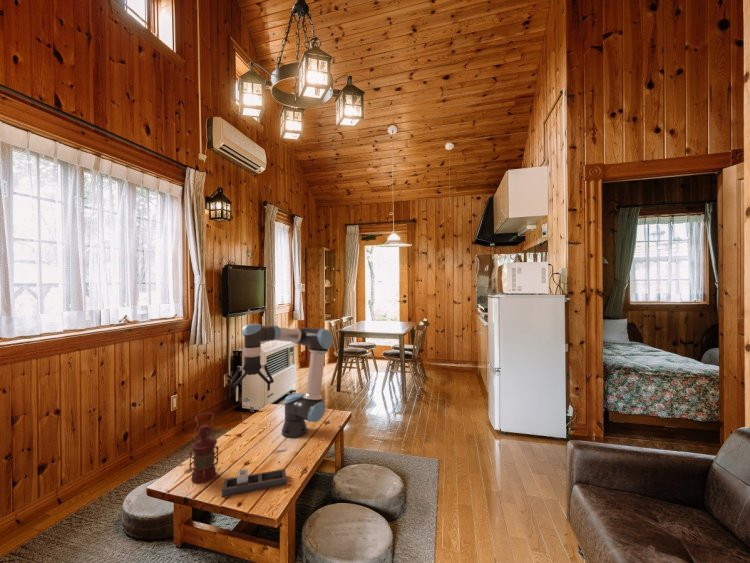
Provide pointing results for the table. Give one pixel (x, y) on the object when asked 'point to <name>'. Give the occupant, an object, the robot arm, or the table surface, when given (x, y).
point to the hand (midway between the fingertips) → (252, 398)
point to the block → (242, 477)
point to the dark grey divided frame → (254, 486)
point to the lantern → (203, 455)
